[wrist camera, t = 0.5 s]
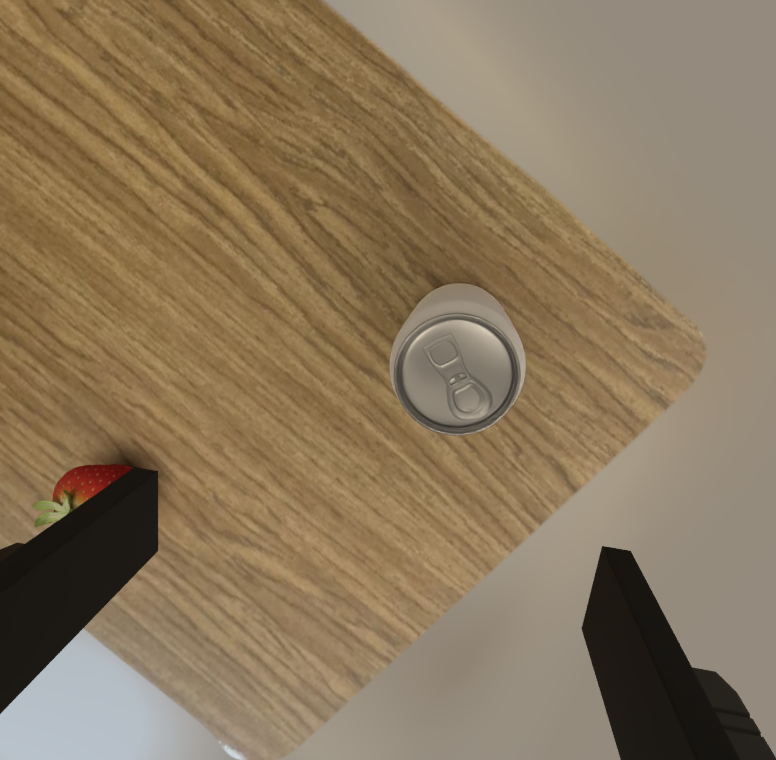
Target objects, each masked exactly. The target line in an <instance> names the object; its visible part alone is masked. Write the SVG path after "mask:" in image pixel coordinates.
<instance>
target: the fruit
mask: <svg viewBox="0 0 776 760" xmlns="http://www.w3.org/2000/svg"><path fill="white" fill-rule="evenodd" d="M131 469H132V467H130V466H126V465H116V464H113V465H86V466H80V467H76V468H74V469H72V470H70V471H69V472H67V473H66V474H65V475H64V476H63V477H62V478H61V479H60V480H59V481H58V483H57V485H56V487H55V490H54V493H53V501H39V502H37V503H35V504H34V505H33V506H32V507H33V508H35V509H37V510H49V509H52V510H54V512H46V513H44V514H43V515H41V516H39V517H38V518H37V520H36V521H35V527H37V526H41V525H44V524H47V523H50V522H55V521H58V520H60V519H61V518H63V517H64V516H66V515H67V514H68V513H70V512H71V511H73V510H74V509H75V508H77V507H78V506H80V505H81V504H83V503H84V502H85V501H87V500H88V499H90V498H91V497H93V496H94V495H95V494H97V493H98V492H100V491H101V490H102V489H104V488H105V487H107V486H108V485H110V484H111V483H112V482H114V481H115V480H117V479H118V478H119V477H121V476H122V475H124V474H125V473H127V472H128V471H129V470H131Z"/></svg>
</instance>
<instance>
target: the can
mask: <svg viewBox="0 0 776 760" xmlns="http://www.w3.org/2000/svg"><path fill="white" fill-rule="evenodd" d="M389 366H390V378H391V382H392V386H393V389H394V391H395V394H396V396H397V398H398V399H399V401H400V402H401V404H402V406H403V407H404V409H405V410H406V411H407V413H408V414H409V415H410V416H411V417H412V418H413V419H414V420H415V421H417V422H418V423H419V424H421V425H422V426H424V427H426V428H427V429H429V430H432V431H434V432H437V433H441V434H445V435H453V436H461V435H469V434H474V433H477V432H480V431H483V430H485V429H487V428H489V427H491V426H492V425H494V424H495V423H496V422H498V421H499V420H500V419H501V418H502V417H503V416H504V415H505V414H506V413H507V412H508V410H509V409H510V408H511V407H512V405H513V404H514V403H515V401H516V400H517V398H518V396H519V394H520V392H521V389H522V386H523V383H524V379H525V371H526V361H525V353H524V349H523V345H522V343H521V340H520V338H519V335H518V333H517V331H516V330H515V328H514V326H513V324H512V322H511V321H510V319H509V317H508V316H507V314H506V312H505V311H504V309H503V307H502V306H501V305H500V303H499V302H498V301H497V300H496V299H495V298H494V297H493V296H492V295H491V294H490V293H488V292H487V291H485V290H484V289H482V288H480V287H477V286H474V285H471V284H465V283H454V284H448V285H444V286H441V287H439V288H436V289H435V290H433V291H431V292H430V293H428V294H427V295H426V296H425V297H424V298H423V299H422V300H421V301H420V302H419V303H418V304H417V306H416V307H415V308H414V310H413V311H412V313H411V314H410V315H409V317H408V318H407V320H406V321H405V323H404V324H403V326H402V327H401V329H400V331H399V333H398V334H397V336H396V339H395V341H394V343H393V346H392V350H391V355H390V365H389Z"/></svg>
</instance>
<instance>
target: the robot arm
mask: <svg viewBox="0 0 776 760" xmlns="http://www.w3.org/2000/svg"><path fill="white" fill-rule="evenodd" d="M157 551H158V471H154V470H148V469H142V468H136V467H134V468H132V469H131V470H129V471H128V472H127V473H125V474H124V475H122V476H121V477H119V478H118V479H117V480H115V481H114V482H112V483H111V484H110V485H108V486H107V487H105V488H104V489H102V490H101V491H100V492H98V493H97V494H95V495H94V496H93V497H91V498H90V499H88V500H87V501H85V502H84V503H83V504H81V505H80V506H78V507H77V508H75V509H74V510H73V511H71V512H70V513H68V514H67V515H66V516H64V517H63V518H61V519H60V520H58V521H57V522H56V523H54V524H53V525H51V526H50V527H49V528H47V529H46V530H44V531H43V532H41V533H40V534H39V535H37V536H36V537H34V538H33V539H32V540H30V541H29V542H27V543H26V544H22V543H15V544H13V545H10V546H8V547H6V548H3V549H1V550H0V714H1V713H2V711H3V710H4V709H5V708H6V707H7V706H8V705H9V704H10V703H11V702H12V701H13V700H14V699H15V698H16V697H17V696H18V695H19V694H20V693H21V692H22V691H23V690H24V689H25V688H26V687H27V686H28V685H29V684H30V683H31V681H32V680H33V679H34V678H35V677H36V676H37V675H38V674H39V673H40V672H41V671H42V670H43V669H44V668H45V667H46V666H47V665H48V664H49V663H50V662H51V661H52V660H53V659H54V658H55V657H56V656H57V655H58V653H60V651H62V649H63V648H64V647H65V646H66V645H67V644H68V643H69V642H70V641H71V640H72V639H73V638H74V637H75V636H76V635H77V634H78V633H79V632H80V631H81V630H82V629H83V628H84V627H85V626H86V625H87V624H88V623H89V622H90V621H91V620H92V618H93V617H94V616H95V615H96V614H97V613H98V612H99V611H100V610H101V609H102V608H103V607H104V606H105V605H106V604H107V603H108V602H109V601H110V600H111V599H112V598H113V597H114V596H115V595H116V594H117V593H118V592H119V591H120V590H121V589H122V587H123V586H124V585H125V584H126V583H127V582H128V581H129V580H130V579H131V578H132V577H133V576H134V575H135V574H136V573H137V572H138V571H139V570H140V569H141V568H142V567H143V566H144V565H145V564H146V563H147V562H148V561H149V560H150V559H151V558H152V556H153V555H154V554H155V553H156V552H157ZM582 631H583V635H584V638H585V641H586V645H587V648H588V651H589V655H590V658H591V661H592V665H593V668H594V671H595V675H596V678H597V681H598V685H599V688H600V691H601V695H602V698H603V701H604V705H605V708H606V711H607V715H608V718H609V721H610V725H611V728H612V732H613V735H614V738H615V742H616V745H617V748H618V751H619V755H620V758H621V760H776V758H775V756H774V754H773V752H772V751H771V749H770V748H769V746H768V744H767V742H766V741H765V739H764V738H763V737H761V735H760V733H761V732H760V731H759V729H758V727H757V726H756V724H755V722H754V721H753V719H751V718H750V714H749V712H748V710H747V709H746V707H745V705H744V704H743V702H742V701H741V699H740V697H739V695H738V694H737V692H736V691H735V690H734V689H732V687H731V686H730V685H729V684H728V683H726V681H725V680H724V679H723V678H722V677H720V676H719V675H718V674H717V673H716V672H713V671H708V670H703V669H698V668H692V667H691V665H690V663H689V661H688V659H687V657H686V655H685V653H684V652H683V650H682V648H681V646H680V644H679V642H678V640H677V638H676V636H675V634H674V633H673V631H672V629H671V627H670V625H669V623H668V621H667V619H666V617H665V615H664V614H663V612H662V610H661V608H660V606H659V604H658V602H657V600H656V598H655V596H654V595H653V593H652V591H651V589H650V587H649V585H648V583H647V581H646V579H645V578H644V576H643V574H642V572H641V570H640V568H639V566H638V564H637V562H636V561H635V559H634V557H633V555H632V553H631V551H628V550H622V549H616V548H610V547H604V546H602V549H601V553H600V557H599V561H598V566H597V569H596V573H595V578H594V581H593V585H592V589H591V594H590V598H589V602H588V606H587V610H586V614H585V618H584V622H583V626H582Z"/></svg>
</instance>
